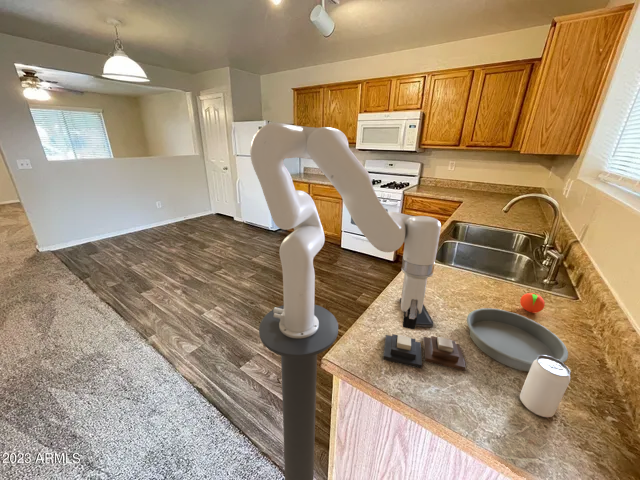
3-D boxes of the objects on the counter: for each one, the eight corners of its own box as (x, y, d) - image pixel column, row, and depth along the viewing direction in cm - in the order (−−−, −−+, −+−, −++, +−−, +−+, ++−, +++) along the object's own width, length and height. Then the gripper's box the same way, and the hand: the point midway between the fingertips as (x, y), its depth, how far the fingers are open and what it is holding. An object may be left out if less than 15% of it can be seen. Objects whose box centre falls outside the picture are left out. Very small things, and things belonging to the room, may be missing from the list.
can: (513, 391, 64) (528, 352, 60) (541, 394, 64) (558, 355, 60) (530, 416, 58) (547, 375, 54) (561, 420, 58) (582, 379, 54)
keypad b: (424, 361, 73) (426, 352, 71) (423, 339, 81) (424, 331, 80) (464, 370, 70) (467, 362, 69) (458, 347, 78) (460, 339, 77)
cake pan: (582, 390, 65) (589, 376, 64) (472, 363, 72) (475, 350, 71) (540, 328, 87) (544, 316, 86) (458, 312, 94) (461, 301, 93)
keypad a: (383, 359, 73) (384, 350, 72) (385, 337, 81) (386, 329, 80) (421, 368, 70) (423, 360, 69) (419, 345, 78) (421, 337, 77)
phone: (420, 298, 100) (434, 324, 86) (419, 301, 100) (433, 327, 86) (399, 297, 100) (409, 322, 86) (398, 300, 100) (409, 325, 86)
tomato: (541, 320, 91) (548, 303, 89) (517, 312, 95) (523, 295, 92) (541, 309, 97) (547, 293, 95) (518, 303, 101) (523, 286, 98)
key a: (396, 347, 73) (397, 342, 73) (397, 339, 77) (397, 334, 76) (410, 351, 72) (411, 345, 72) (410, 342, 76) (410, 337, 75)
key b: (437, 349, 73) (439, 344, 73) (436, 341, 76) (437, 336, 76) (452, 352, 72) (453, 347, 72) (450, 344, 75) (451, 339, 75)
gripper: (402, 253, 74) (395, 308, 80) (401, 277, 60) (393, 342, 66) (431, 256, 72) (421, 313, 78) (436, 282, 58) (425, 348, 64)
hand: (408, 326), depth 72 cm, fingers closed
